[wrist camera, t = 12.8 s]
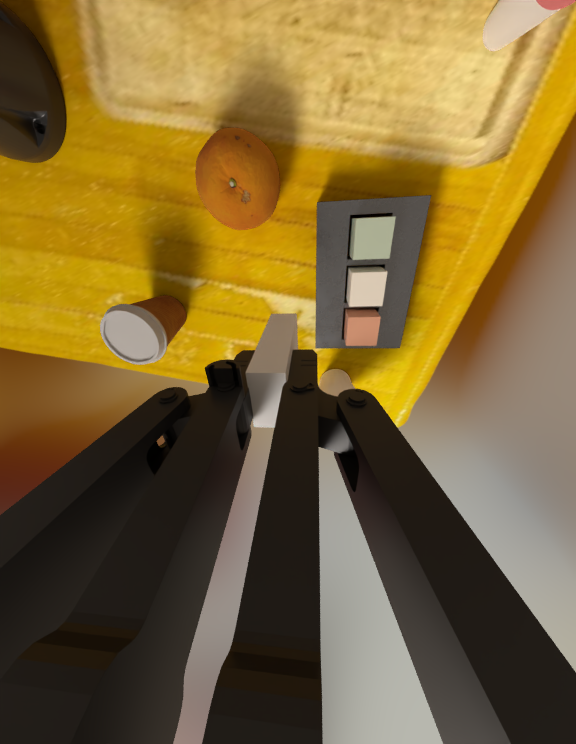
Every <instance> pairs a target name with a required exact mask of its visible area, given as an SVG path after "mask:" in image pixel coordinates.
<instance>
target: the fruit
mask: <svg viewBox="0 0 576 744" xmlns="http://www.w3.org/2000/svg"><path fill="white" fill-rule="evenodd" d="M196 185H197V190H198V193H199V196H200V198H201V200H202V202H203V203H204V205H205V207H206V208H207V209H208V210H209V212H210V213H211V214H212V215H213V216H214V217H215V218H216V219H217V220H218V221H219V222H221V223H223V224H224V225H226V226H228V227H230V228H232V229H236V230H245V229H251V228H255V227H257V226H259V225H261V224H262V223H264V222H265V221H266V220H268V219H269V217H270V216H271V215H272V214H273V212H274V210H275V208H276V204H277V201H278V198H279V192H280V177H279V170H278V166H277V163H276V160H275V158H274V155H273V154H272V152H271V151H270V150H269V149H268V147H267V146H266V145H265V144H264V143H263V142H262V141H261V140H260V139H259V138H257V137H256V136H255V135H253V134H252V133H250V132H248V131H246V130H244V129H240V128H223V129H221V130H219V131H217V132H216V133H214V134H213V135H212V136H211V137H210V139H209V140H208V141H207V142H206V144H205V145H204V147H203V148H202V150H201V151H200V153H199V155H198V158H197V161H196Z"/></svg>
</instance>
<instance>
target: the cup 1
mask: <svg viewBox="0 0 576 744" xmlns="http://www.w3.org/2000/svg"><path fill="white" fill-rule="evenodd" d="M319 388H320V389H321V390H322V391H323V392H325V393H327V394H330V395H333V396H338V395H339V393H341V392H342V391H344V390H348V389H355V387H354V386H353V384H352V382H351V380H350V377H349V376H348V374H347V373H346V372H345V371H343V370H340V369H331V370H328V371H326V372H325V373H324V374H323V375H322V376H321V379H320V384H319Z"/></svg>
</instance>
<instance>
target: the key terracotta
mask: <svg viewBox="0 0 576 744" xmlns="http://www.w3.org/2000/svg"><path fill="white" fill-rule="evenodd" d="M380 319H381V317H380V315H379V314H378V312H377V310H376V309H375V307H371V308H345V314H344V328H343V335H344V339H345V343H346V346H376V345H377V339H378V332H379V325H380Z"/></svg>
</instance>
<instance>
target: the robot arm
mask: <svg viewBox="0 0 576 744" xmlns="http://www.w3.org/2000/svg"><path fill="white" fill-rule="evenodd" d="M65 127H66V116H65V107H64V101H63V97H62V93H61V89H60V86H59V83H58V80H57V77H56V75H55V72H54V70H53V68H52V66H51V64H50V62H49V60H48V58H47V56H46V54H45V52H44V51H43V49H42V47H41V46H40V44H39V43H38V41H37V40H36V38H35V37H34V35H33V34H32V33H31V31H30V30H29V29H28V28H27V26H26V25H25V24H24V23H23V22H22V21H21V20H20V19H19V18H18V17H17V16H16V15H15V14H14V13H13V12H12V11H11V10H10V9H9V8H7V7H6V6H5V5H4V4H2V3H1V2H0V155H2V156H5V157H8V158H11V159H15V160H20V161H26V162H33V163H38V162H43V161H46V160H48V159H50V158H52V157H53V156H54V155H55V154H56V153H57V152H58V150H59V149H60V147H61V145H62V142H63V139H64V135H65ZM205 371H206V375H207V379H208V383H209V388H208V390H207V391H206V393H203V394H199V395H193V396H188V393H187V391H186V390H185V389H183V388H180V387H173V388H167V389H165V390H162V391H160V392H158V393H156V394H155V395H153V396H152V397H151V398H150V399H148V400H147V401H146V402H145V403H143V404H142V405H141V406H139V407H138V408H137V409H136V410H134V411H133V412H132V413H130V414H129V415H128V416H127V417H125V418H124V419H123V420H122V421H120V422H119V423H118V424H116V425H115V426H114V427H113V428H111V429H110V430H109V431H107V432H106V433H105V434H104V435H102V436H101V437H100V438H98V439H97V440H96V441H95V442H93V443H92V444H91V445H90V446H88V447H87V448H86V449H85V450H83V451H82V452H81V453H79V454H78V455H77V456H75V457H74V458H73V459H72V460H70V461H69V462H68V463H66V464H65V465H64V466H63V467H61V468H60V469H59V470H58V471H56V472H55V473H54V474H52V475H51V476H50V477H49V478H47V479H46V480H45V481H43V482H42V483H41V484H40V485H38V486H37V487H36V488H35V489H33V490H32V491H31V492H29V493H28V494H27V495H26V496H24V497H23V498H22V499H20V500H19V501H18V502H17V503H16V504H14V505H13V506H11V507H10V508H9V509H8V510H6V511H5V512H4V513H3V514H1V515H0V744H173V741H174V738H175V734H176V730H177V726H178V722H179V717H180V713H181V707H182V700H183V684H184V673H185V668H186V664H187V660H188V656H189V653H190V650H191V646H192V642H193V639H194V635H195V632H196V628H197V625H198V621H199V618H200V614H201V611H202V607H203V604H204V600H205V597H206V593H207V590H208V586H209V583H210V579H211V576H212V572H213V568H214V565H215V562H216V558H217V555H218V551H219V548H220V544H221V541H222V537H223V534H224V530H225V527H226V523H227V520H228V516H229V512H230V509H231V506H232V502H233V499H234V495H235V492H236V488H237V485H238V481H239V478H240V474H241V470H242V467H243V464H244V460H245V456H246V453H247V449H248V446H249V442H250V439H251V427H250V425H251V421H252V418H253V423H254V427H273V428H274V434H273V439H272V444H271V449H270V454H269V459H268V465H267V469H266V475H265V480H264V485H263V490H262V495H261V500H260V505H259V510H258V516H257V521H256V526H255V531H254V537H253V542H252V546H251V552H250V557H249V562H248V567H247V573H246V577H245V583H244V588H243V593H242V598H241V603H240V608H239V614H238V618H237V624H236V629H235V633H234V638H233V642H232V645H231V649H230V651H229V653H228V655H227V657H226V659H225V661H224V663H223V665H222V667H221V670H220V674H219V676H218V680H217V683H216V686H215V690H214V694H213V698H212V702H211V706H210V710H209V714H208V719H207V724H206V729H205V734H204V738H203V742H202V744H322V684H321V656H320V655H321V653H320V566H319V565H320V556H319V460H318V459H319V457H318V456H319V453H318V447H321V448H325V449H328V450H331V451H334V456H335V459H336V461H337V464H338V467H339V469H340V472H341V474H342V477H343V480H344V482H345V485H346V488H347V490H348V493H349V496H350V498H351V501H352V503H353V506H354V509H355V511H356V514H357V517H358V519H359V522H360V524H361V527H362V530H363V533H364V535H365V538H366V540H367V543H368V546H369V549H370V551H371V554H372V556H373V559H374V562H375V564H376V567H377V570H378V572H379V575H380V578H381V580H382V583H383V585H384V588H385V591H386V593H387V596H388V599H389V601H390V604H391V606H392V609H393V612H394V614H395V617H396V620H397V622H398V625H399V628H400V630H401V633H402V636H403V638H404V641H405V643H406V646H407V649H408V651H409V654H410V656H411V659H412V662H413V665H414V667H415V670H416V673H417V675H418V678H419V680H420V683H421V686H422V688H423V691H424V694H425V697H426V699H427V702H428V704H429V707H430V710H431V712H432V715H433V718H434V720H435V723H436V726H437V728H438V731H439V733H440V736H441V739H442V741H443V744H576V672H575V671H574V670H573V668H572V667H571V665H570V664H569V663H568V661H567V660H566V659H565V657H564V656H563V654H562V653H561V652H560V650H559V649H558V648H557V646H556V645H555V643H554V642H553V641H552V639H551V638H550V637H549V636H548V634H547V632H546V631H545V630H544V629H543V627H542V626H541V624H540V623H539V621H538V620H537V619H536V617H535V616H534V615H533V613H532V612H531V611H530V609H529V608H528V606H527V605H526V604H525V602H524V601H523V600H522V598H521V597H520V595H519V594H518V593H517V591H516V590H515V589H514V587H513V586H512V584H511V583H510V582H509V580H508V579H507V578H506V576H505V575H504V574H503V572H502V571H501V569H500V568H499V567H498V565H497V564H496V563H495V561H494V560H493V558H492V557H491V556H490V554H489V553H488V552H487V550H486V549H485V548H484V546H483V545H482V543H481V542H480V541H479V539H478V538H477V537H476V535H475V534H474V532H473V531H472V530H471V528H470V527H469V525H468V524H467V523H466V521H465V520H464V519H463V517H462V516H461V514H460V513H459V512H458V510H457V509H456V508H455V507H454V505H453V504H452V502H451V501H450V499H449V498H448V497H447V495H446V494H445V493H444V491H443V490H442V488H441V487H440V486H439V484H438V483H437V482H436V480H435V479H434V478H433V477H432V475H431V473H430V472H429V471H428V469H427V468H426V467H425V465H424V464H423V462H422V461H421V460H420V458H419V457H418V456H417V454H416V453H415V452H414V450H413V449H412V448H411V446H410V445H409V443H408V442H407V441H406V439H405V438H404V436H403V435H402V434H401V432H400V431H399V430H398V428H397V427H396V425H395V424H394V423H393V421H392V420H391V419H390V417H389V416H388V414H387V413H386V412H385V410H384V409H383V408H382V406H381V405H380V403H379V402H378V401H377V399H376V398H375V397H374V396H373V395H372V394H371V393H369V392H367V391H365V390H360V389H348V390H344V391H342V392H341V393H339V395H338V396H333V395H330V394H327V393H325V392H323V391H322V390H321V389H320V388H319V387H318V383H317V354H316V353H315V352H314V350H298V340H297V314H271V316H270V318H269V320H268V323H267V325H266V327H265V330H264V332H263V334H262V336H261V339H260V341H259V343H258V345H257V348H256V350H243V351H242V352H240V353H239V354H237V355H236V357H235V359H234V360H219V361H216V362H213V363H211V364H209V365H208V366H207V367H205ZM162 435H163V437H164V440H165V442H164V443H163V444H162V445H160V446H158V444H157V442H156V441H157V440H158V439H159V438H160V437H161V436H162Z"/></svg>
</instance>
